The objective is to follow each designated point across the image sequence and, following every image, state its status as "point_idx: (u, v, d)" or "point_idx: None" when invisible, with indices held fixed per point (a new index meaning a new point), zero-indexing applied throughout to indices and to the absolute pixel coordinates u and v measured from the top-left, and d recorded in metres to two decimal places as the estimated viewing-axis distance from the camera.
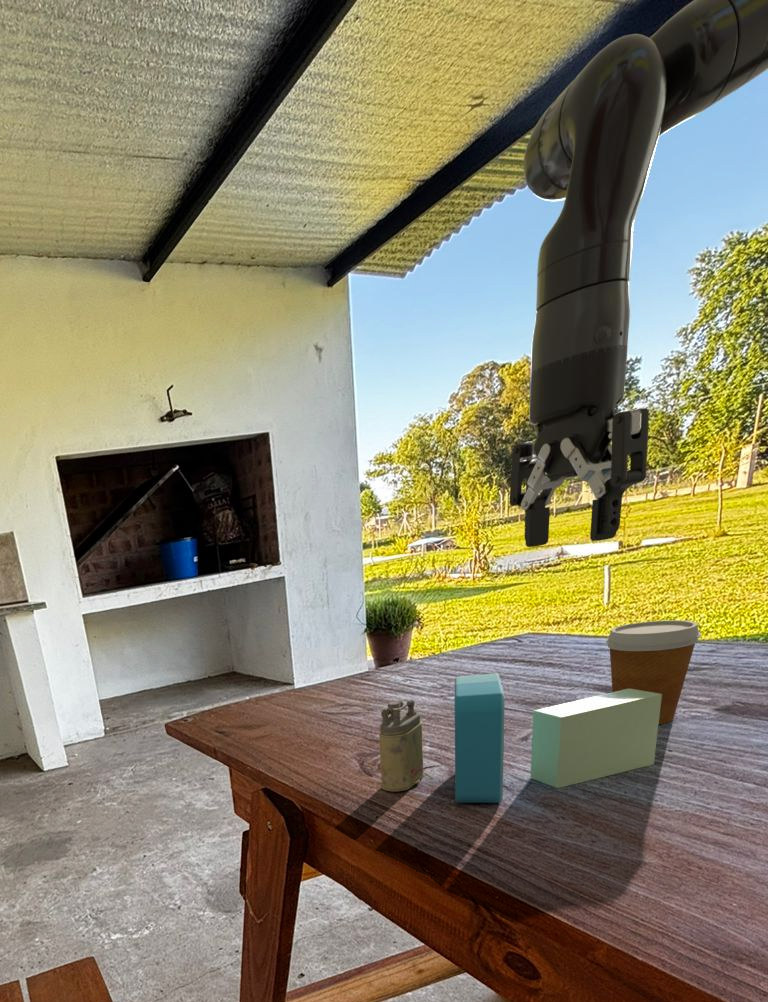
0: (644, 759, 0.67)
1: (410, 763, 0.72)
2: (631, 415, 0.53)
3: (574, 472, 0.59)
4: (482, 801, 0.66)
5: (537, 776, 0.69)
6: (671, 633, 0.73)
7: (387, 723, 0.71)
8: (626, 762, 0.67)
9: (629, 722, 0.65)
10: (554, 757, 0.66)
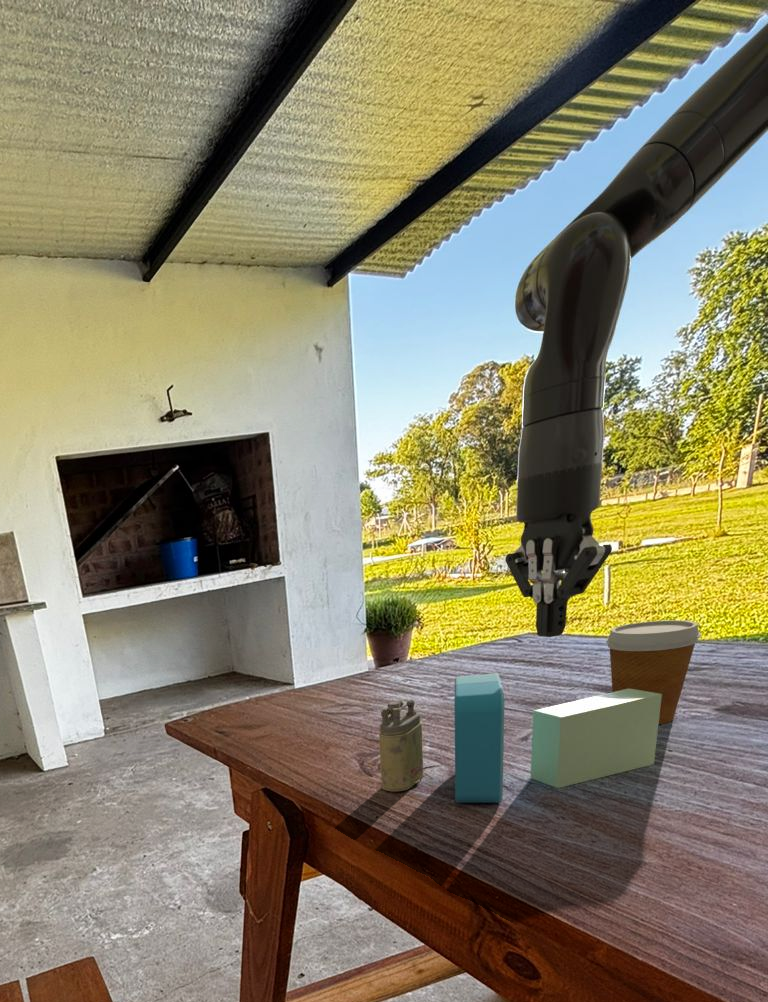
0: (644, 759, 0.67)
1: (410, 763, 0.72)
2: (596, 555, 0.62)
3: (555, 567, 0.66)
4: (482, 801, 0.66)
5: (537, 776, 0.69)
6: (671, 633, 0.73)
7: (387, 723, 0.71)
8: (626, 762, 0.67)
9: (629, 722, 0.65)
10: (554, 757, 0.66)
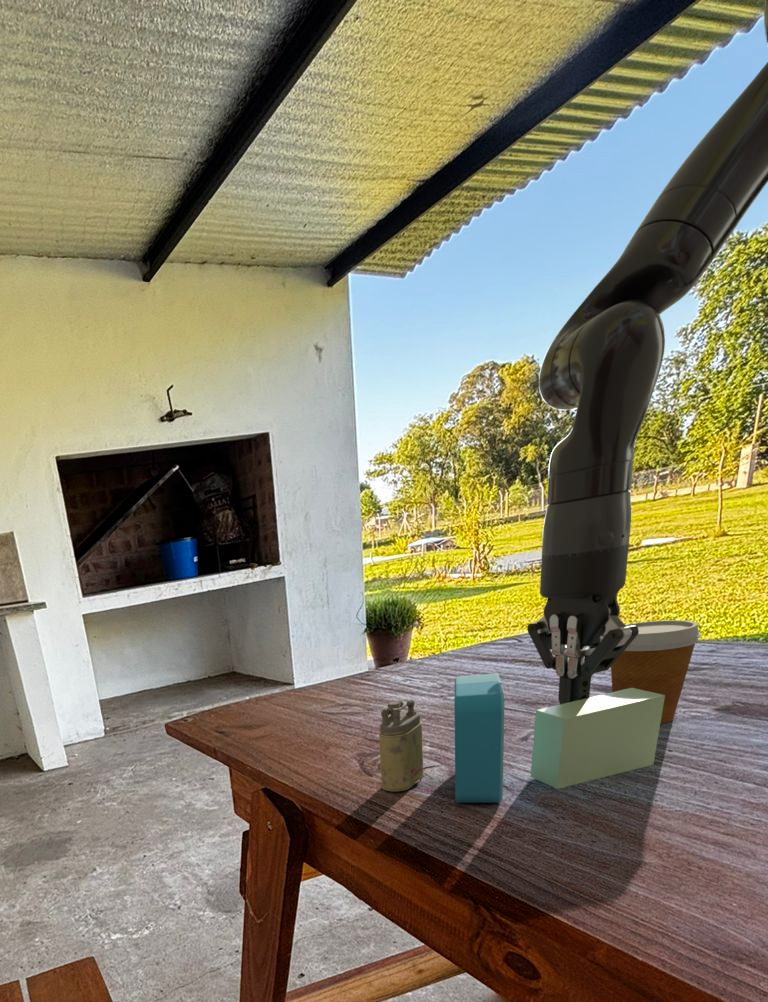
0: (644, 759, 0.67)
1: (410, 763, 0.72)
2: (622, 637, 0.61)
3: (580, 644, 0.65)
4: (482, 801, 0.66)
5: (537, 775, 0.69)
6: (671, 633, 0.73)
7: (387, 723, 0.71)
8: (627, 763, 0.67)
9: (631, 723, 0.65)
10: (555, 758, 0.66)
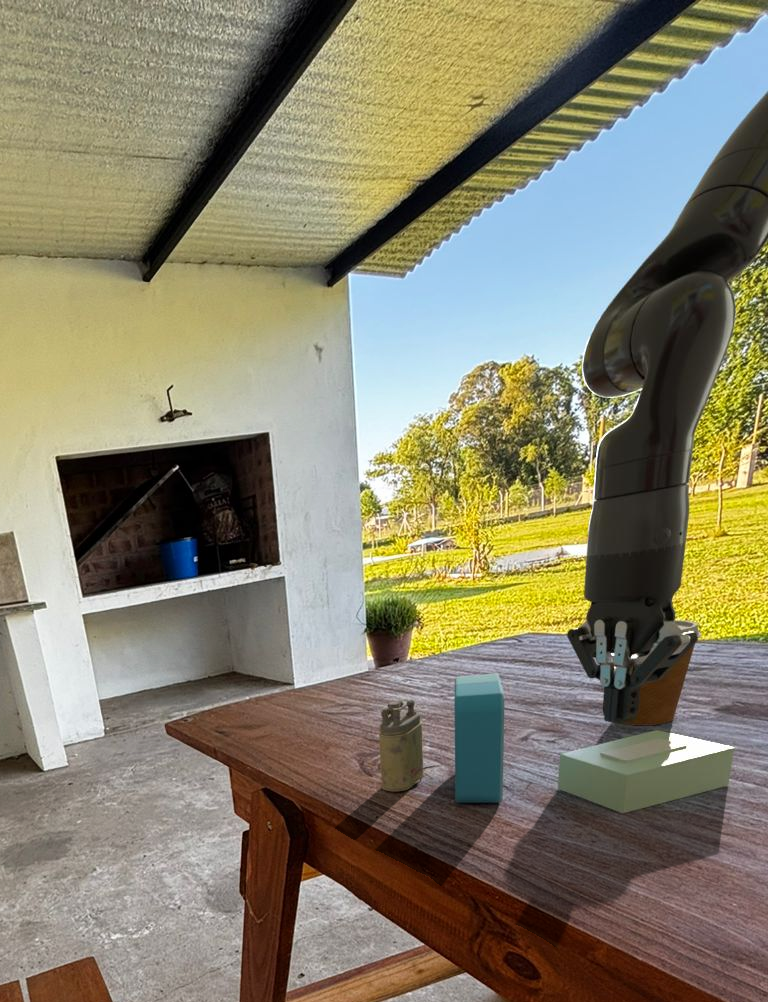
0: None
1: (410, 763, 0.72)
2: (679, 645, 0.55)
3: (629, 652, 0.60)
4: (482, 801, 0.66)
5: (562, 764, 0.65)
6: None
7: (387, 723, 0.71)
8: None
9: None
10: (583, 793, 0.63)
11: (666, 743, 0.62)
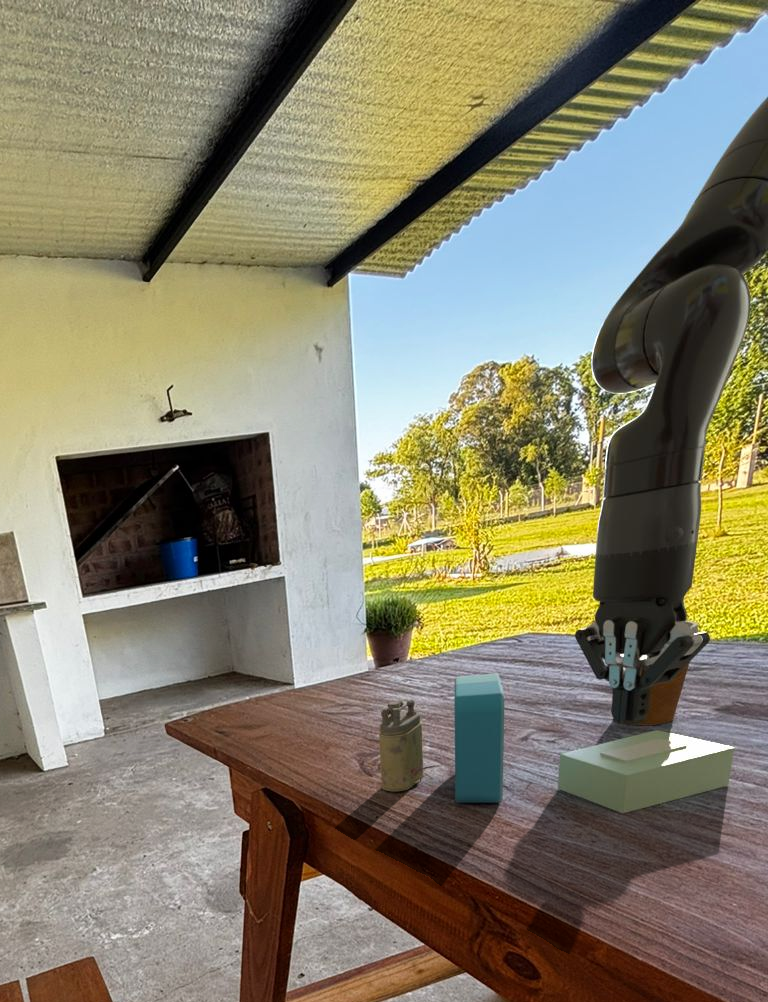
0: None
1: (410, 763, 0.72)
2: (692, 645, 0.54)
3: (639, 652, 0.59)
4: (482, 801, 0.66)
5: (562, 764, 0.65)
6: None
7: (387, 723, 0.71)
8: None
9: None
10: (583, 793, 0.63)
11: (666, 743, 0.62)
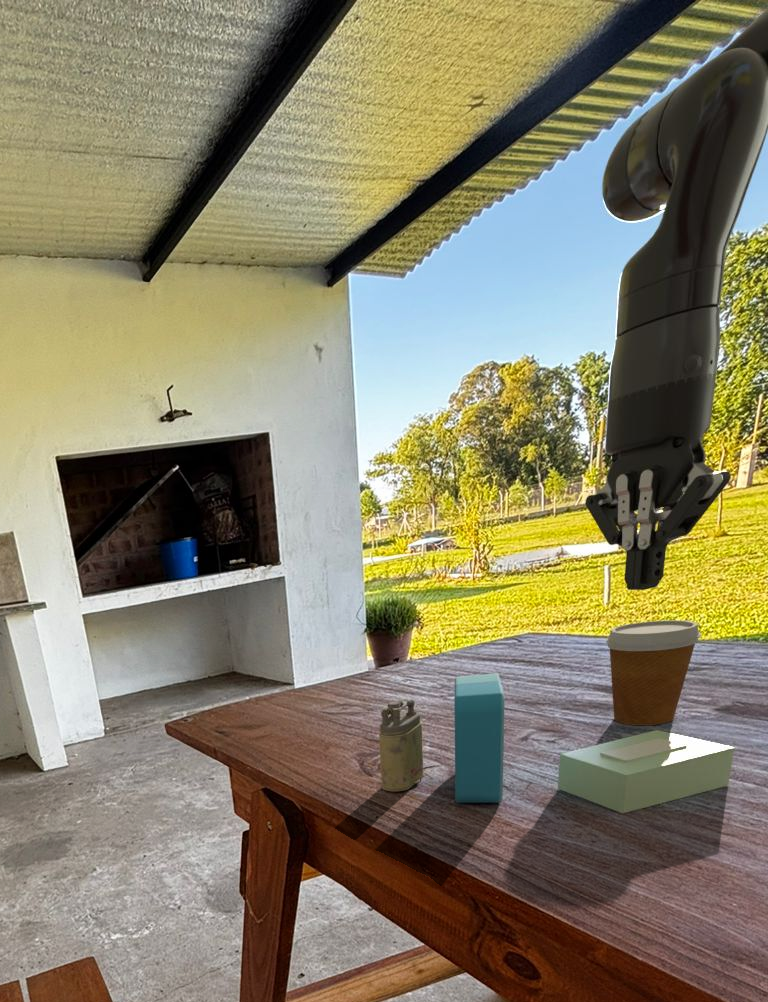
0: None
1: (410, 763, 0.72)
2: (711, 484, 0.51)
3: (655, 505, 0.56)
4: (482, 801, 0.66)
5: (562, 764, 0.65)
6: (671, 633, 0.73)
7: (387, 723, 0.71)
8: None
9: None
10: (583, 793, 0.63)
11: (666, 743, 0.62)
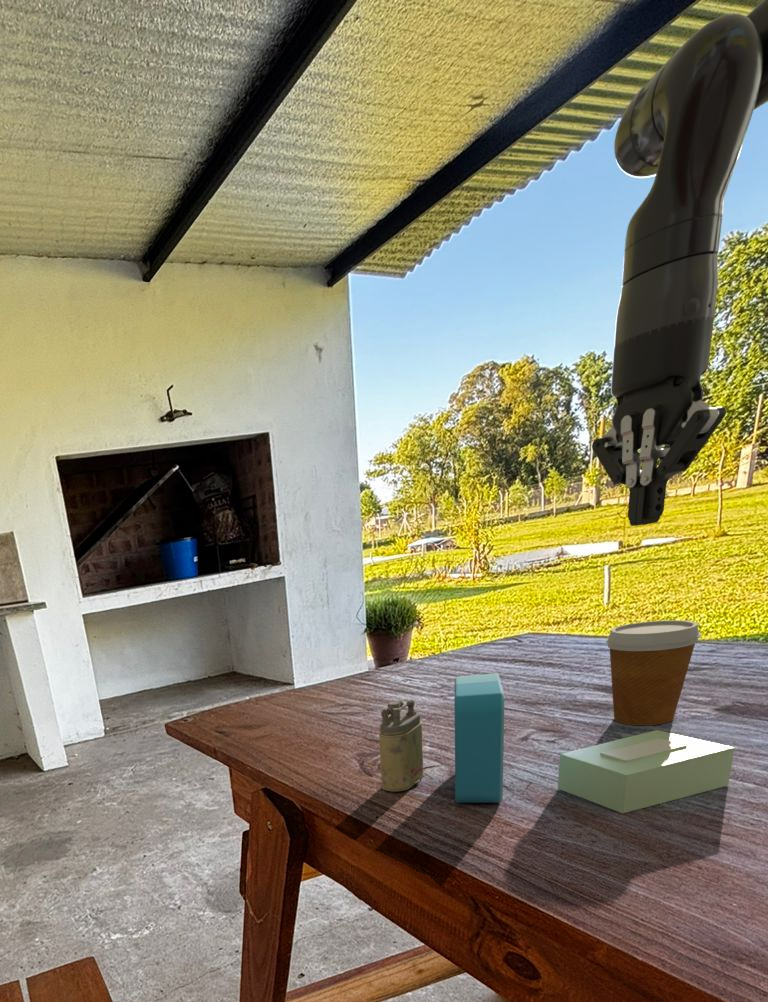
0: None
1: (410, 763, 0.72)
2: (708, 418, 0.56)
3: (656, 442, 0.61)
4: (482, 801, 0.66)
5: (562, 764, 0.65)
6: (671, 633, 0.73)
7: (387, 723, 0.71)
8: None
9: None
10: (583, 793, 0.63)
11: (666, 743, 0.62)
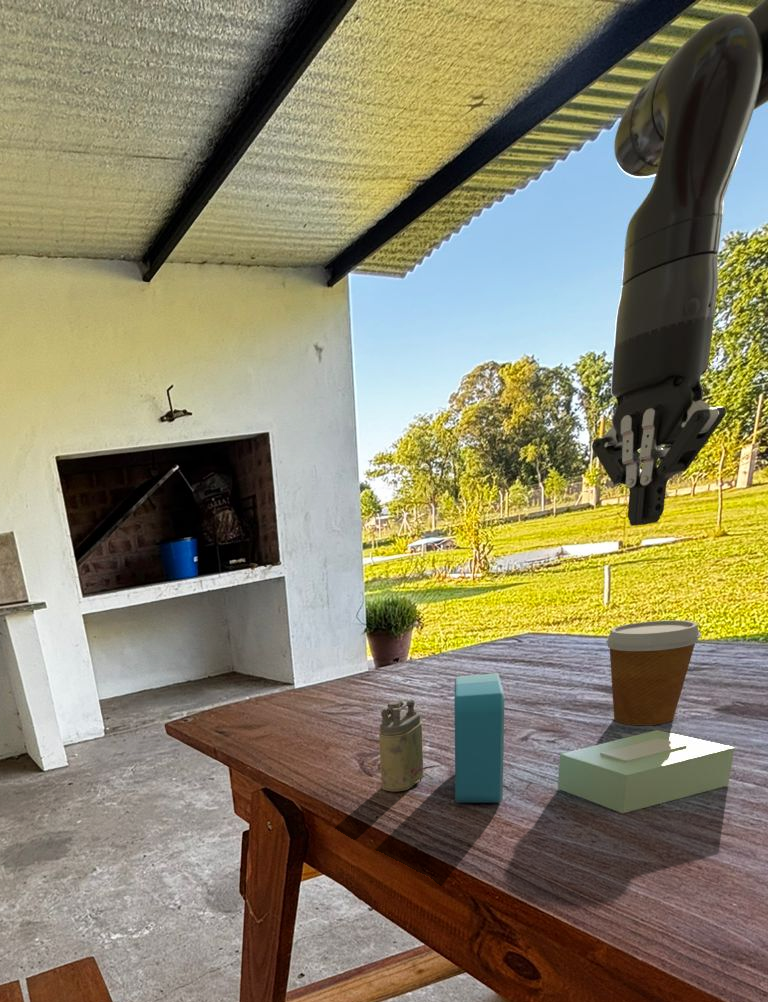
0: None
1: (410, 763, 0.72)
2: (708, 418, 0.56)
3: (656, 442, 0.61)
4: (482, 801, 0.66)
5: (562, 764, 0.65)
6: (671, 633, 0.73)
7: (387, 723, 0.71)
8: None
9: None
10: (583, 793, 0.63)
11: (666, 743, 0.62)
